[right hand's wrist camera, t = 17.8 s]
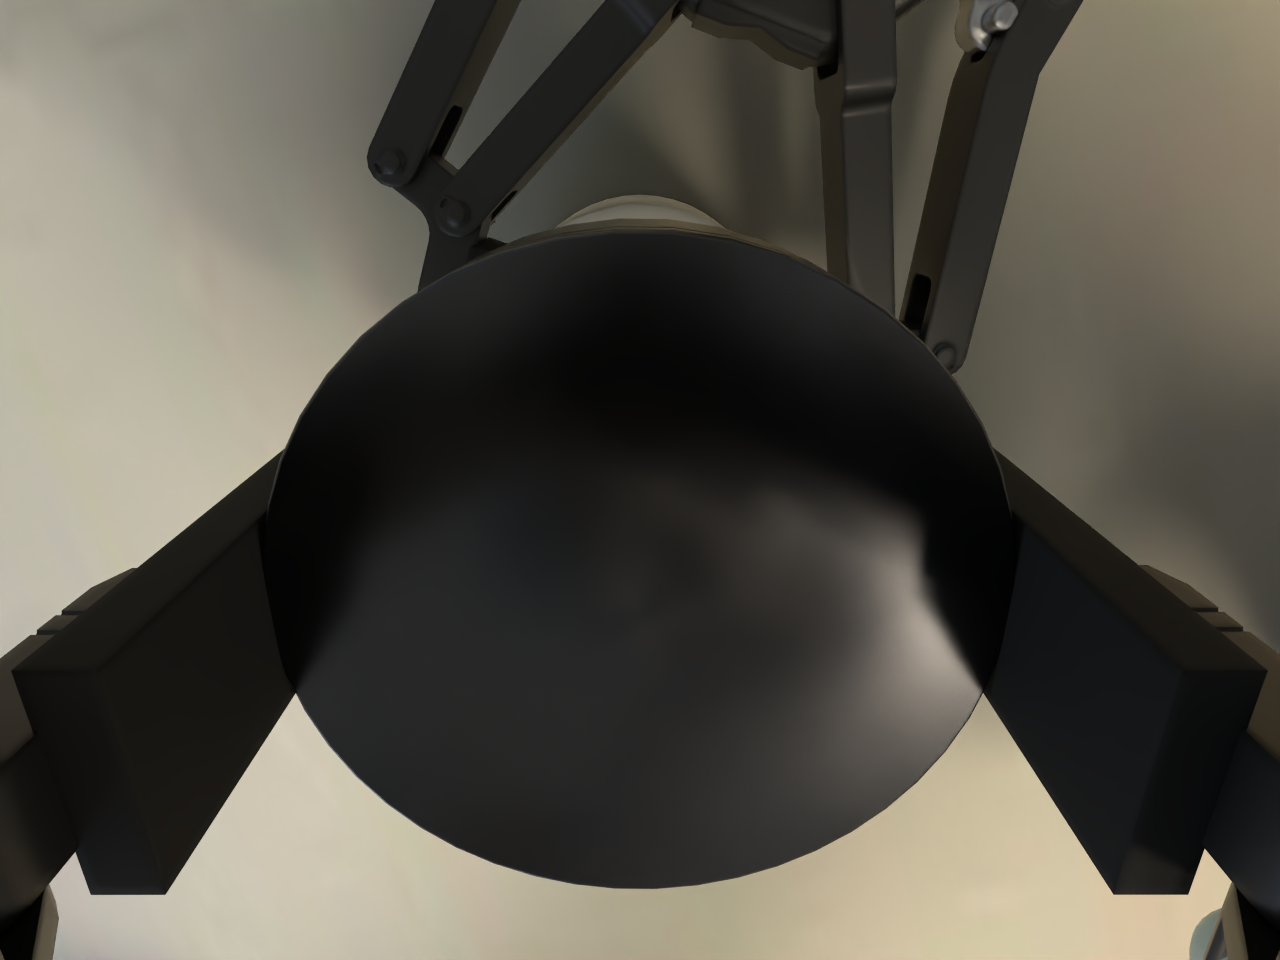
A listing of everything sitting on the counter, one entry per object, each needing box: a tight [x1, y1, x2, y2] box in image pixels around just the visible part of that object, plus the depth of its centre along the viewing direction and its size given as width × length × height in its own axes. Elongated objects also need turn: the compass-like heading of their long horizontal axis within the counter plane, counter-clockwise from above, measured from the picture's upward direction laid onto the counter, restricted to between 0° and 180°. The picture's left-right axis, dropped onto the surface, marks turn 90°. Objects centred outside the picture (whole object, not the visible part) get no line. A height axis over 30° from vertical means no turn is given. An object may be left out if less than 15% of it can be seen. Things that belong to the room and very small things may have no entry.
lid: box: [263, 218, 1016, 889], centre depth 11 cm, size 10×10×2 cm
